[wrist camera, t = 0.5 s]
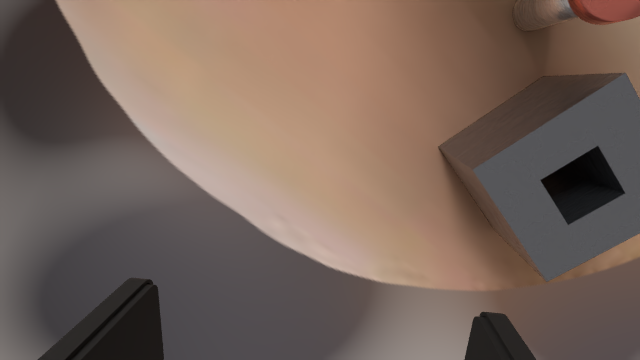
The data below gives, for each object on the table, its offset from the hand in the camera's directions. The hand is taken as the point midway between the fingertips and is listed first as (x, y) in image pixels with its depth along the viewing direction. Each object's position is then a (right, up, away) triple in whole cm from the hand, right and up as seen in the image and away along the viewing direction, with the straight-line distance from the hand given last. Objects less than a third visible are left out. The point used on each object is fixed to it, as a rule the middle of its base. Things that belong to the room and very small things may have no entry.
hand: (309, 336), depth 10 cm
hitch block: (+21, +7, +26) cm, 35 cm away
